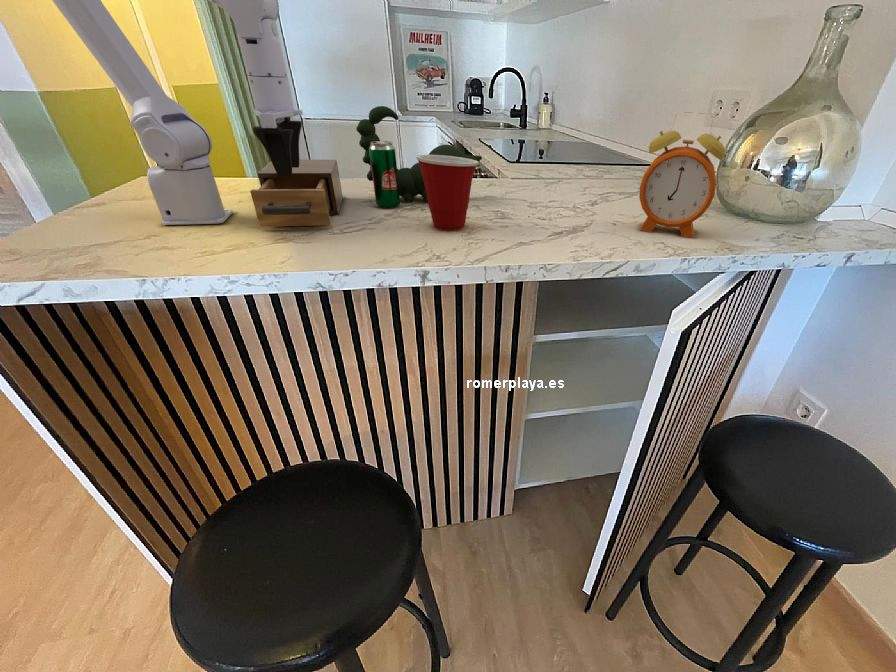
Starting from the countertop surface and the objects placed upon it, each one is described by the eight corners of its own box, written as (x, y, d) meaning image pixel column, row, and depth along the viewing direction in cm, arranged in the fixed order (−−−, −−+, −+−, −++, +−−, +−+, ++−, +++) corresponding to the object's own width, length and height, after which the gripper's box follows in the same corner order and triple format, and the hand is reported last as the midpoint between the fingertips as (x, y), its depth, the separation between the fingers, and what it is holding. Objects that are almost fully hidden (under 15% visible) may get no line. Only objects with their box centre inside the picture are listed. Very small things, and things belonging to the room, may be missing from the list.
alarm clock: (631, 230, 87) (654, 111, 76) (635, 222, 92) (657, 109, 81) (701, 240, 84) (737, 116, 72) (702, 231, 89) (735, 114, 77)
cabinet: (338, 215, 87) (331, 173, 83) (268, 216, 85) (257, 173, 80) (343, 197, 99) (336, 159, 95) (281, 198, 96) (272, 159, 92)
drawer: (327, 233, 75) (320, 196, 72) (254, 235, 73) (243, 197, 69) (335, 205, 90) (330, 174, 86) (274, 206, 87) (266, 174, 84)
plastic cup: (490, 227, 85) (491, 158, 78) (446, 239, 78) (443, 163, 71) (453, 215, 91) (450, 149, 84) (409, 225, 84) (403, 154, 77)
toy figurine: (372, 212, 96) (487, 202, 98) (348, 109, 85) (479, 101, 87) (376, 201, 103) (483, 192, 106) (355, 106, 92) (475, 98, 94)
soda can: (387, 210, 92) (379, 144, 85) (371, 205, 94) (362, 141, 87) (405, 206, 95) (399, 142, 88) (390, 201, 97) (383, 139, 90)
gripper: (286, 78, 65) (307, 179, 72) (302, 76, 76) (318, 163, 84) (233, 76, 63) (260, 180, 71) (257, 74, 75) (278, 163, 82)
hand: (289, 171), depth 77 cm, fingers open, 7 cm apart
